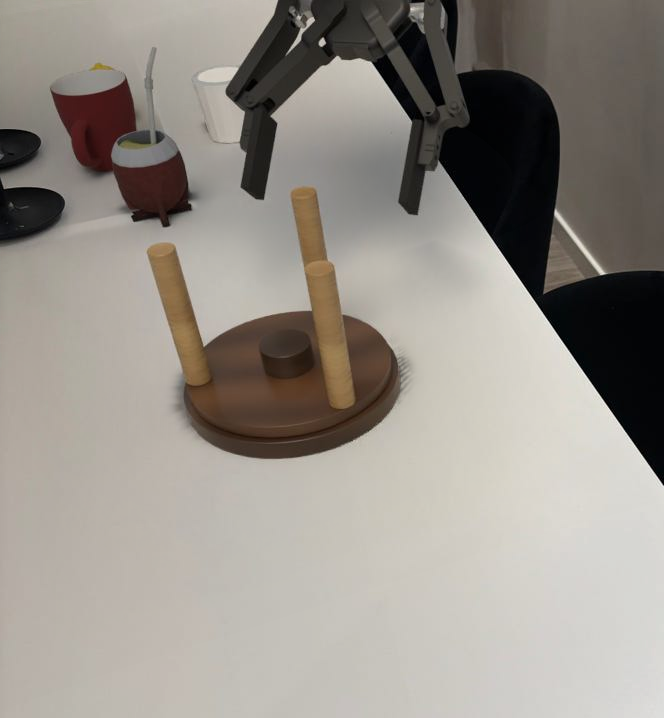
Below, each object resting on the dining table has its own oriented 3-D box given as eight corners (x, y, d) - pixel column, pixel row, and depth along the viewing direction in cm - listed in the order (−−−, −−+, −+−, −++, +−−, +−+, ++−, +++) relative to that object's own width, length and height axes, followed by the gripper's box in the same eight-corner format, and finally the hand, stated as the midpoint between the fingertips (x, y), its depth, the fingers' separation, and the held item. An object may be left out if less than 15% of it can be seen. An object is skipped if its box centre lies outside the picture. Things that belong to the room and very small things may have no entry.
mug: (138, 195, 106) (110, 102, 99) (65, 199, 106) (32, 106, 99) (158, 156, 114) (134, 67, 107) (90, 159, 114) (62, 71, 107)
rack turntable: (174, 348, 80) (132, 211, 72) (359, 304, 84) (339, 169, 76) (208, 460, 69) (164, 314, 61) (419, 404, 73) (404, 259, 65)
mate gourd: (133, 235, 99) (85, 84, 89) (124, 204, 104) (78, 58, 94) (205, 220, 101) (167, 70, 90) (193, 190, 106) (155, 46, 96)
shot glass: (242, 118, 121) (230, 59, 116) (272, 132, 117) (261, 72, 112) (194, 134, 118) (180, 75, 113) (224, 150, 114) (210, 88, 109)
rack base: (173, 363, 81) (168, 347, 80) (365, 316, 86) (363, 301, 84) (208, 483, 70) (203, 467, 69) (429, 422, 74) (427, 406, 73)
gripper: (534, -27, 78) (488, 231, 78) (256, -36, 84) (214, 204, 84) (515, -88, 71) (464, 197, 71) (212, -93, 77) (166, 170, 77)
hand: (328, 201), depth 77 cm, fingers open, 13 cm apart
